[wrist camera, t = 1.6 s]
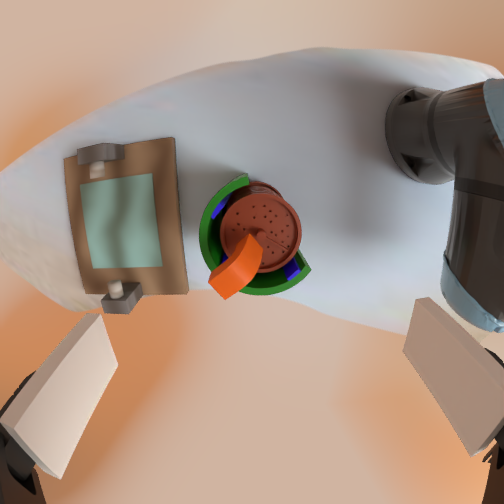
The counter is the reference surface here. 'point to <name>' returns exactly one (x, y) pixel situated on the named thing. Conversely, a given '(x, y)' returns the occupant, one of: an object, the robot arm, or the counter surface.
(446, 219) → the counter surface
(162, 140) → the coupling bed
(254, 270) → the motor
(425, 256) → the counter surface
